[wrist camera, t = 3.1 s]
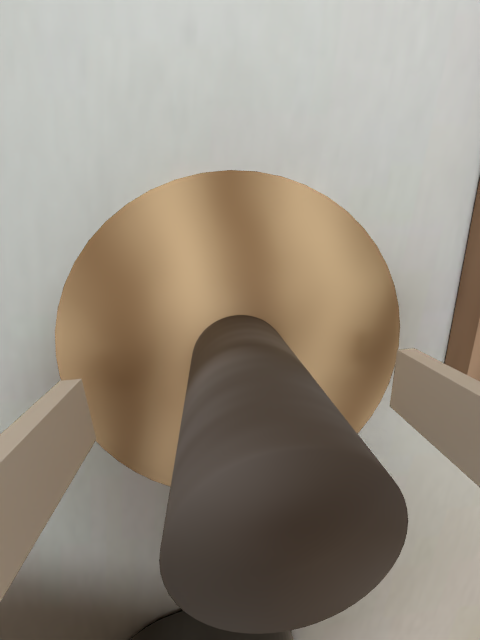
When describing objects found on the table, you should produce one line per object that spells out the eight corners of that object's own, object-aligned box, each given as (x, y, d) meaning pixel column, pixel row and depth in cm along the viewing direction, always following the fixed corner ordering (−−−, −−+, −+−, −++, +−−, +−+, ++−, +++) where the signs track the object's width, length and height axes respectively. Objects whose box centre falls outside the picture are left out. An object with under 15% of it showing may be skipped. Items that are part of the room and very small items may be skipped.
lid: (104, 494, 17) (-47, 849, 7) (26, 182, 12) (-970, -163, 2) (371, 458, 18) (555, 702, 8) (403, 172, 13) (949, -34, 3)
